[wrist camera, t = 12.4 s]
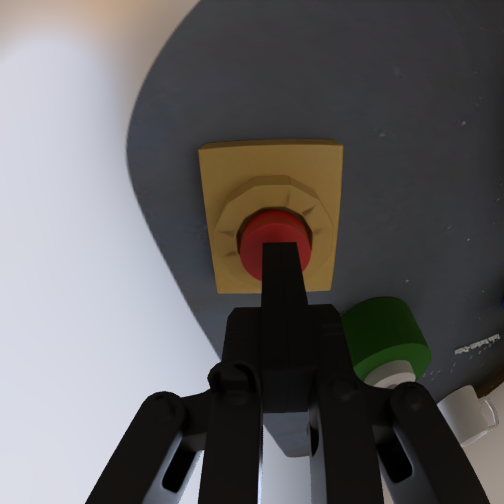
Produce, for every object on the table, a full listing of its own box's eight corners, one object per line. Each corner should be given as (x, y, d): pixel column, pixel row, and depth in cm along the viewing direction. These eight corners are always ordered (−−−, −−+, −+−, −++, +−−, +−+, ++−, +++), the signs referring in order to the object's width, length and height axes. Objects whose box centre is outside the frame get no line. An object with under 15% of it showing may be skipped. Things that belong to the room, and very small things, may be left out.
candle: (338, 299, 22) (366, 405, 14) (421, 293, 22) (467, 379, 13) (325, 359, 27) (338, 447, 18) (396, 351, 26) (422, 429, 18)
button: (239, 210, 15) (236, 224, 13) (307, 208, 15) (312, 222, 13) (244, 266, 17) (242, 285, 15) (305, 265, 16) (309, 283, 15)
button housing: (205, 143, 16) (189, 155, 13) (334, 139, 16) (353, 151, 12) (221, 275, 21) (213, 311, 18) (325, 272, 21) (336, 307, 18)
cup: (476, 394, 36) (491, 432, 27) (430, 414, 37) (442, 457, 29) (492, 372, 32) (511, 414, 23) (443, 395, 33) (459, 443, 25)
